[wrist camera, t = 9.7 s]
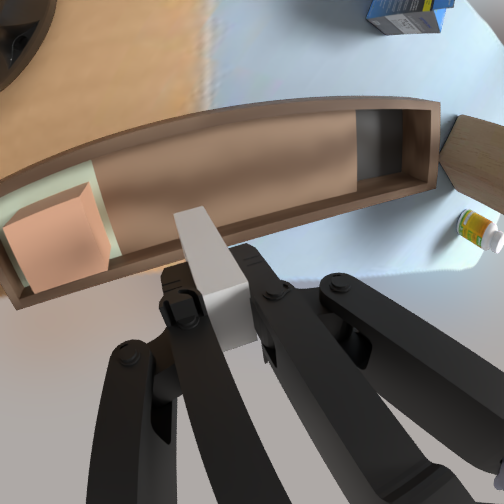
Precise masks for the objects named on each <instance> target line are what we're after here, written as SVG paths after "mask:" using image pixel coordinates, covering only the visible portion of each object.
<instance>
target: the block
mask: <svg viewBox="0 0 504 504" xmlns="http://www.w3.org/2000/svg"><path fill="white" fill-rule="evenodd" d="M439 162H440V164H441V166H442V167H443V169H444V171H445V172H446V174H447V176H448V177H449V179H450V181H451V182H452V184H453V186H454V188H455V189H456V190H457V191H458V192H460V193H462V194H464V195H466V196H468V197H470V198H472V199H474V200H476V201H478V202H480V203H482V204H484V205H486V206H488V207H490V208H492V209H494V210H496V211H497V212H499V213H501V214H503V215H504V126H501V125H498V124H495V123H492V122H488V121H485V120H481V119H478V118H474V117H470V116H466V115H460V116H458V118H457V120H456V122H455V124H454V126H453V128H452V131H451V133H450V135H449V137H448V139H447V141H446V143H445V145H444V146H443V148H442V150H441V152H440V154H439Z"/></svg>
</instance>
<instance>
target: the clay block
mask: <svg viewBox="0 0 504 504" xmlns="http://www.w3.org/2000/svg"><path fill="white" fill-rule="evenodd" d="M3 231H4V233H5V235H6V238H7V240H8V242H9V244H10V247H11V249H12V251H13V253H14V255H15V257H16V259H17V261H18V263H19V265H20V267H21V269H22V271H23V273H24V275H25V277H26V279H27V281H28V283H29V285H30V287H31V288H32V290H33V292H34V294H36V293H39V292H42V291H45V290H48V289H51V288H54V287H57V286H60V285H63V284H66V283H70V282H73V281H76V280H79V279H82V278H85V277H88V276H91V275H95V274H98V273H101V272H104V271H107V270H108V265H109V258H110V251H111V244H110V242H109V239H108V236H107V234H106V231H105V228H104V225H103V223H102V220H101V217H100V214H99V211H98V208H97V205H96V202H95V199H94V196H93V192H92V189H91V186H90V183H89V182H86V183H83V184H81V185H78V186H75V187H72V188H70V189H67V190H64V191H62V192H59V193H57V194H54V195H52V196H49V197H47V198H44V199H42V200H39V201H37V202H35V203H32V204H30V205H28V206H25V207H23V208H21V209H19V210H18V211H17V212H16V213H15V214H14V216H13V217H12V218H11V219H10V220H9V221H8V222H7V223H6V224H5V225H4V227H3Z"/></svg>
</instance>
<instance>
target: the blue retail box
mask: <svg viewBox="0 0 504 504" xmlns="http://www.w3.org/2000/svg"><path fill="white" fill-rule="evenodd" d="M454 1H455V0H373V2H372V4H371V7H370V10H369V12H368V14H367V17H366V20H368V21H369V22H370V23H371V24H373V25H374V26H375V27H376V28H378V29H379V30H380V31H381V32H383V33H384V34H385V35H401V34H421V33H441V29H442V25H443V20H444V16H445V12H446V8H454Z"/></svg>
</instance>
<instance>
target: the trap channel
mask: <svg viewBox="0 0 504 504" xmlns="http://www.w3.org/2000/svg"><path fill="white" fill-rule="evenodd" d="M439 147H440V102H435V101H430V100H424V99H417V98H411V97H393V96H329V97H310V98H296V99H285V100H275V101H266V102H258V103H250V104H243V105H236V106H230V107H224V108H218V109H213V110H207V111H202V112H197V113H192V114H187V115H183V116H178V117H174V118H170V119H165V120H161V121H157V122H153V123H150V124H146V125H142V126H139V127H135V128H131V129H128V130H125V131H121V132H118V133H115V134H112V135H108V136H105V137H102V138H99V139H96V140H93V141H91V142H88V143H85V144H82V145H79V146H77V147H74V148H71V149H69V150H66V151H63V152H61V153H58V154H56V155H53V156H51V157H49V158H46V159H44V160H42V161H39V162H37V163H35V164H32V165H30V166H28V167H26V168H24V169H22V170H19V171H17V172H15V173H13V174H11V175H9V176H7V177H5V178H3V179H1V180H0V283H1V285H2V287H3V289H4V290H5V292H6V294H7V296H8V297H9V299H10V300H11V302H12V304H13V306H14V307H15V309H16V310H19V309H23V308H26V307H29V306H32V305H35V304H38V303H42V302H45V301H48V300H51V299H54V298H57V297H61V296H64V295H67V294H70V293H73V292H77V291H80V290H83V289H87V288H90V287H93V286H96V285H100V284H103V283H106V282H110V281H113V280H116V279H119V278H123V277H126V276H129V275H133V274H136V273H139V272H143V271H146V270H149V269H153V268H156V267H159V266H163V265H166V264H169V263H173V262H176V261H179V260H183V259H185V256H184V252H183V249H182V245H181V241H180V238H179V234H178V230H177V227H176V223H175V219H174V215H173V214H175V213H178V212H182V211H185V210H189V209H193V208H196V207H200V206H203V207H204V208H205V210H206V212H207V213H208V215H209V217H210V219H211V220H212V222H213V224H214V225H215V227H216V229H217V230H218V232H219V234H220V235H221V237H222V239H223V240H224V242H225V244H226V246H231V245H234V244H237V243H241V242H244V241H248V240H251V239H255V238H258V237H262V236H265V235H269V234H272V233H276V232H279V231H283V230H286V229H290V228H293V227H297V226H300V225H304V224H308V223H311V222H315V221H318V220H322V219H325V218H329V217H333V216H336V215H340V214H343V213H347V212H351V211H354V210H358V209H361V208H365V207H369V206H372V205H376V204H380V203H383V202H387V201H391V200H394V199H398V198H402V197H406V196H409V195H413V194H417V193H421V192H424V191H428V190H432V189H436V184H437V174H438V162H439ZM86 182H89V183H90V186H91V189H92V192H93V196H94V199H95V202H96V205H97V208H98V211H99V214H100V217H101V220H102V223H103V225H104V228H105V231H106V234H107V236H108V239H109V242H110V244H111V251H110V258H109V265H108V270H107V271H104V272H101V273H98V274H95V275H91V276H88V277H85V278H82V279H79V280H76V281H73V282H70V283H66V284H63V285H60V286H57V287H54V288H51V289H48V290H45V291H42V292H39V293H36V294H34V292H33V290H32V288H31V287H30V285H29V283H28V281H27V279H26V277H25V275H24V273H23V271H22V269H21V267H20V265H19V263H18V261H17V259H16V257H15V255H14V253H13V251H12V249H11V247H10V244H9V242H8V240H7V238H6V235H5V233H4V231H3V227H4V225H5V224H6V223H7V222H8V221H9V220H10V219H11V218H12V217H13V216H14V214H15V213H16V212H17V211H18V210H19V209H21V208H23V207H25V206H28V205H30V204H32V203H35V202H37V201H39V200H42V199H44V198H47V197H49V196H52V195H54V194H57V193H59V192H62V191H64V190H67V189H70V188H72V187H75V186H78V185H81V184H83V183H86Z"/></svg>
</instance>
